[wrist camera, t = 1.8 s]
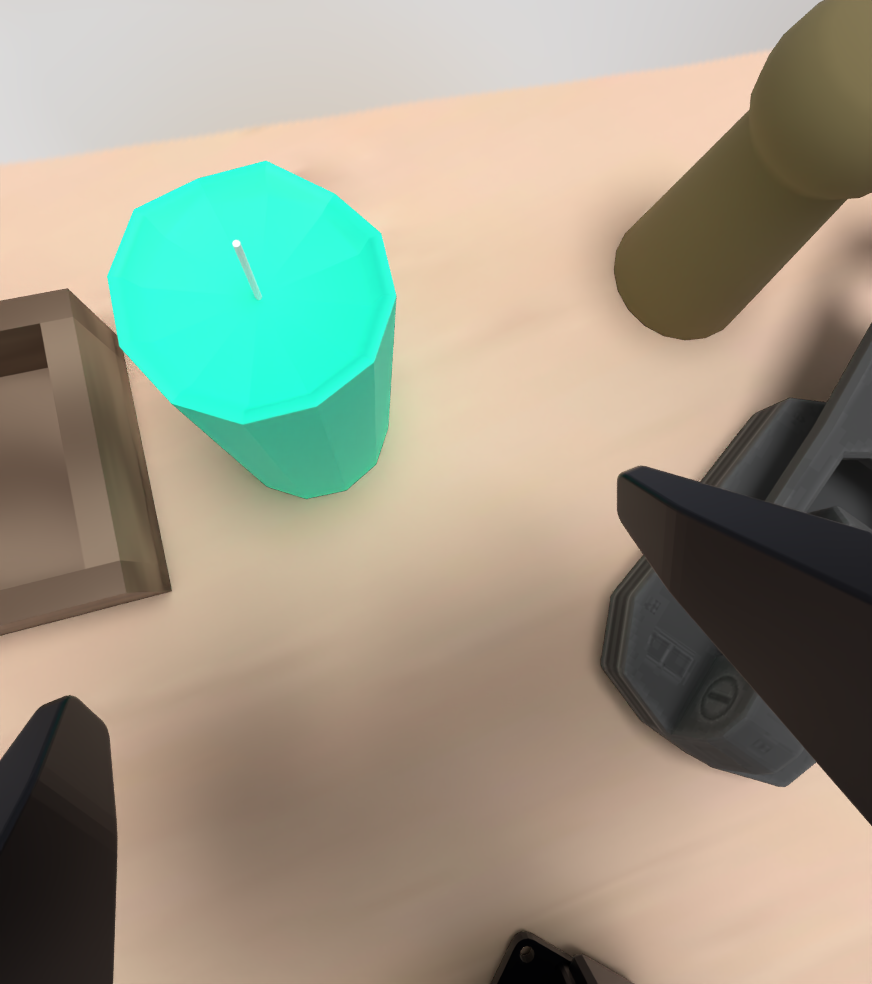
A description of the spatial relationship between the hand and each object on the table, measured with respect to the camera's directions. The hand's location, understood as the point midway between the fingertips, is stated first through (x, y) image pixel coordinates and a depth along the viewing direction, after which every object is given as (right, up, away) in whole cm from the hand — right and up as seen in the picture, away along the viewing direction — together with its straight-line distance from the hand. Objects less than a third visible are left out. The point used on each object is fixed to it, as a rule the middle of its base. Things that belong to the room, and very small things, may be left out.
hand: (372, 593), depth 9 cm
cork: (+12, +11, +16) cm, 23 cm away
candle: (-4, +4, +13) cm, 15 cm away
